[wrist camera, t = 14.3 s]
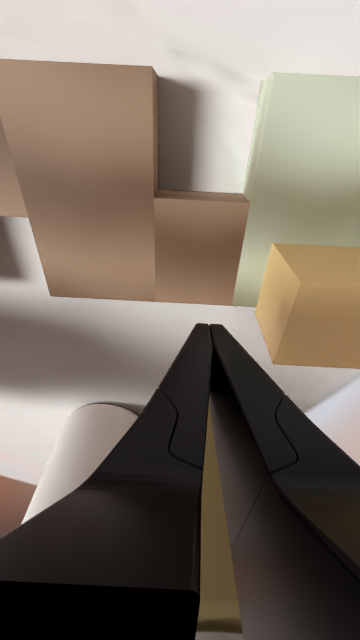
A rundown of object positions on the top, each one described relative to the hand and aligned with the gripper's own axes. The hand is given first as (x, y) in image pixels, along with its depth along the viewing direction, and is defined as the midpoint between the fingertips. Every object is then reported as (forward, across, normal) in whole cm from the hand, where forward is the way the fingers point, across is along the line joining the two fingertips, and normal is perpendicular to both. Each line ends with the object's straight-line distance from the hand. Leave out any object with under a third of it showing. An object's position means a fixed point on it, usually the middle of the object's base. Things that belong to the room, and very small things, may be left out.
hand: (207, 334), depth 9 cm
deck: (+8, +6, -2) cm, 10 cm away
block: (+6, -5, +1) cm, 8 cm away
